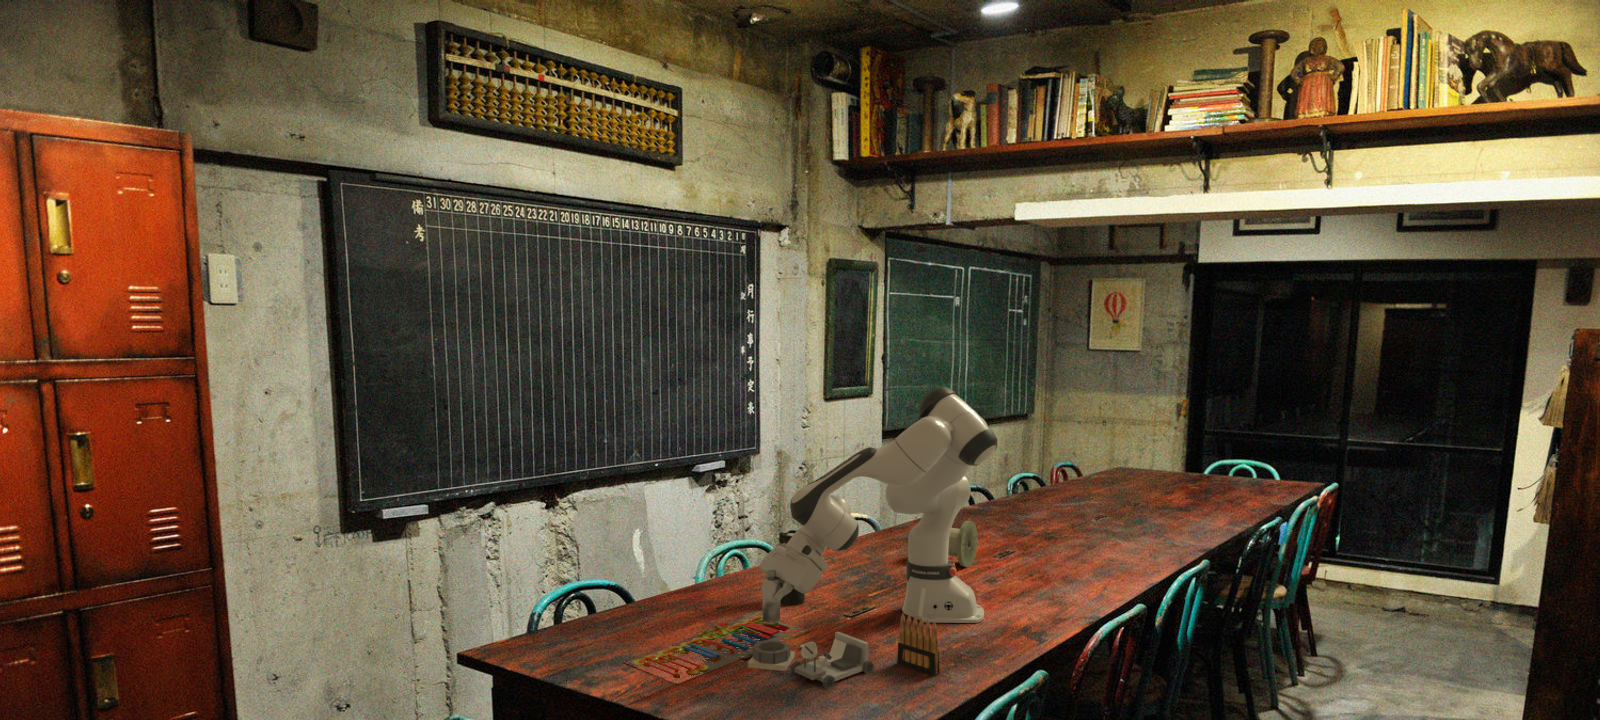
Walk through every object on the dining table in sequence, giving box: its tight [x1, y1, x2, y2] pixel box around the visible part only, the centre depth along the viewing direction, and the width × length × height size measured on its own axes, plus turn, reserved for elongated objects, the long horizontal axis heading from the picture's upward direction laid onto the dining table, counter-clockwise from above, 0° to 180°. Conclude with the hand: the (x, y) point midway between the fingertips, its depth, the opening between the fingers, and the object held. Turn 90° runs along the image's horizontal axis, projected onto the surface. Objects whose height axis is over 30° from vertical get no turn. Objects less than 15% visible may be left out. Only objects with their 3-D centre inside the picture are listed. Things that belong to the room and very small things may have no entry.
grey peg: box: [761, 570, 781, 622], centre depth 209 cm, size 4×4×12 cm
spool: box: [918, 520, 979, 568], centre depth 286 cm, size 16×15×15 cm
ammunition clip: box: [896, 612, 940, 677], centre depth 195 cm, size 11×2×12 cm, turn 47°
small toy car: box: [790, 631, 875, 690], centre depth 192 cm, size 18×10×12 cm
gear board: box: [632, 615, 806, 678], centre depth 209 cm, size 45×2×19 cm
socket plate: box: [747, 640, 796, 672], centre depth 199 cm, size 9×9×4 cm
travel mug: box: [778, 529, 806, 606], centre depth 244 cm, size 8×8×20 cm
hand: (769, 595), depth 208 cm, fingers closed on grey peg, 4 cm apart
